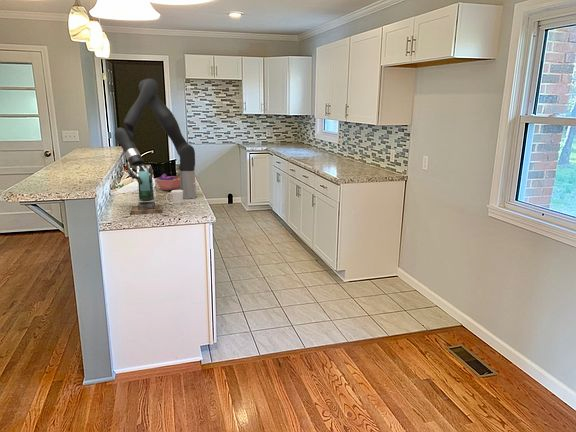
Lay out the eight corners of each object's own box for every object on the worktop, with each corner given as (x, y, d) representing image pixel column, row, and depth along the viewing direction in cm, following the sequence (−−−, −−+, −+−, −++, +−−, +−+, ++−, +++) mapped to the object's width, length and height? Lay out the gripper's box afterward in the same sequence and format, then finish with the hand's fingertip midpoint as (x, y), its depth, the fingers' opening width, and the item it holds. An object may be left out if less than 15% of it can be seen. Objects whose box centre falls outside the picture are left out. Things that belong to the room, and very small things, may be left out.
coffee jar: (151, 201, 263) (148, 170, 259) (137, 201, 263) (135, 170, 258) (155, 197, 273) (153, 168, 268) (142, 197, 273) (140, 168, 268)
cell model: (182, 193, 287) (181, 176, 284) (152, 192, 288) (150, 175, 285) (188, 188, 304) (187, 171, 301) (160, 187, 304) (158, 171, 301)
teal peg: (150, 188, 239) (148, 170, 237) (149, 190, 235) (148, 172, 232) (140, 189, 238) (139, 171, 235) (140, 191, 233) (138, 172, 231)
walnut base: (162, 207, 247) (162, 200, 246) (161, 213, 236) (161, 205, 234) (132, 209, 243) (132, 201, 242) (130, 214, 232) (129, 206, 231)
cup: (184, 205, 253) (183, 191, 251) (166, 206, 250) (165, 192, 248) (183, 202, 260) (182, 189, 258) (166, 203, 257) (165, 190, 255)
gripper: (123, 155, 232) (135, 180, 227) (148, 153, 242) (160, 177, 236) (120, 164, 237) (131, 189, 232) (144, 161, 247) (156, 185, 241)
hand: (146, 183), depth 234 cm, fingers closed on teal peg, 5 cm apart
